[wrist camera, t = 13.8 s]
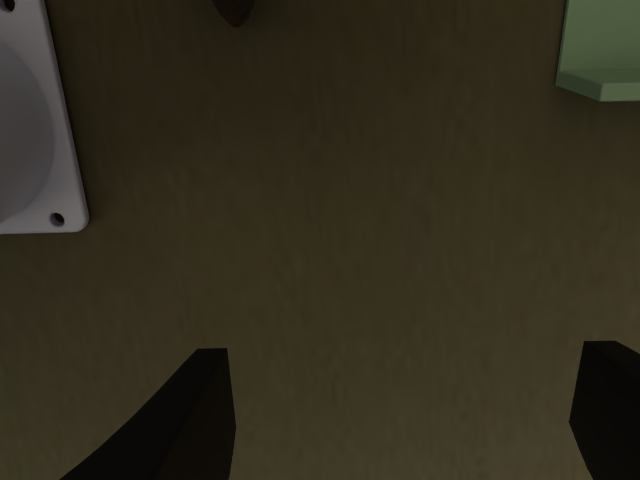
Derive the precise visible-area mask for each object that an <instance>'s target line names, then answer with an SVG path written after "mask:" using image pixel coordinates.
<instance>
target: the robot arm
mask: <svg viewBox="0 0 640 480" xmlns="http://www.w3.org/2000/svg"><path fill="white" fill-rule="evenodd" d="M14 1H15V8H14V10H13V11H10V10H9V9H7V7H6V5H5V0H0V234H19V233H61V232H78V231H80V230H82V229H83V228H84V227H85V226H86V225H87V224H88V222H89V213H88V208H87V203H86V198H85V193H84V189H83V184H82V179H81V174H80V169H79V165H78V160H77V155H76V150H75V145H74V141H73V136H72V131H71V126H70V121H69V117H68V112H67V107H66V102H65V97H64V93H63V88H62V83H61V78H60V73H59V69H58V64H57V59H56V54H55V49H54V45H53V40H52V35H51V30H50V25H49V21H48V16H47V11H46V6H45V2H44V0H14ZM55 213H59V214H61V215H62V216H63V218H64V219H65V222H64V223H62V222H59V221H58V220H56V218H55ZM569 423H570V426H571V429H572V431H573V434H574V437H575V439H576V442H577V445H578V447H579V450H580V452H581V454H582V457H583V459H584V462H585V464H586V466H587V469H588V471H589V472H590V474H591V476H592V478H593V480H640V354H639V353H637V352H635V351H634V350H632V349H630V348H628V347H626V346H624V345H622V344H620V343H618V342H617V341H584V344H583V350H582V355H581V360H580V366H579V371H578V376H577V382H576V387H575V392H574V398H573V403H572V408H571V414H570V419H569ZM235 432H236V422H235V413H234V405H233V396H232V387H231V379H230V370H229V361H228V353H227V348H214V349H197V350H196V351H195V352H194V353H193V354H192V355H191V356H190V357H189V358H188V359H187V360H186V361H185V362H184V363H183V364H182V365H181V366H180V368H179V369H178V370H177V371H176V372H175V373H174V374H173V375H172V376H171V377H170V378H169V379H168V381H167V382H166V383H165V384H164V385H163V386H162V387H161V388H160V389H159V390H158V391H157V392H156V393H155V394H154V395H153V396H152V397H151V398H150V399H149V400H148V401H147V402H146V403H145V404H144V405H143V406H142V408H141V409H140V410H139V411H138V412H137V413H136V414H135V415H134V416H133V417H132V418H131V419H130V420H128V421H127V422H126V423H125V424H124V425H123V426H122V427H121V428H120V429H119V430H118V431H117V432H116V433H114V434H113V435H112V436H111V437H110V438H109V439H108V440H107V441H106V442H105V443H104V444H103V445H101V446H100V447H99V448H98V449H97V450H96V451H94V452H93V453H92V454H91V455H90V456H88V457H87V458H86V459H85V460H84V461H82V462H81V463H80V464H79V465H77V466H76V467H75V468H74V469H72V470H71V471H70V472H68V473H67V474H66V475H64V476H63V477H62V478H61V479H59V480H228V479H229V475H230V469H231V462H232V455H233V448H234V440H235Z"/></svg>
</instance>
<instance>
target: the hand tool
mask: <svg viewBox="0 0 640 480" xmlns="http://www.w3.org/2000/svg"><path fill="white" fill-rule="evenodd" d="M212 1H213V3H214V5H215V7H216V9H217V10H218V12H219V13H220V15H221V16H222V17H223V18H224V19H225V20H226V21H227V22H228V23H229V24H230V25H231V26H233V27H240V26H241V25H242V24H243V23H244V22H245V21H246V20H247V19H248V17H249V14H250V12H251V10H252V8H253V6H254V2H255V0H212Z"/></svg>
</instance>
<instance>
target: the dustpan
mask: <svg viewBox="0 0 640 480" xmlns="http://www.w3.org/2000/svg"><path fill="white" fill-rule="evenodd" d="M555 86H557V87H561V88H564V89H567V90H570V91H572V92H575V93H578V94H581V95H583V96H586V97H589V98H591V99H594V100H597V101H600V102H613V101H640V0H567V2H566V9H565V16H564V24H563V31H562V39H561V46H560V54H559V61H558V69H557V76H556V84H555Z"/></svg>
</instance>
